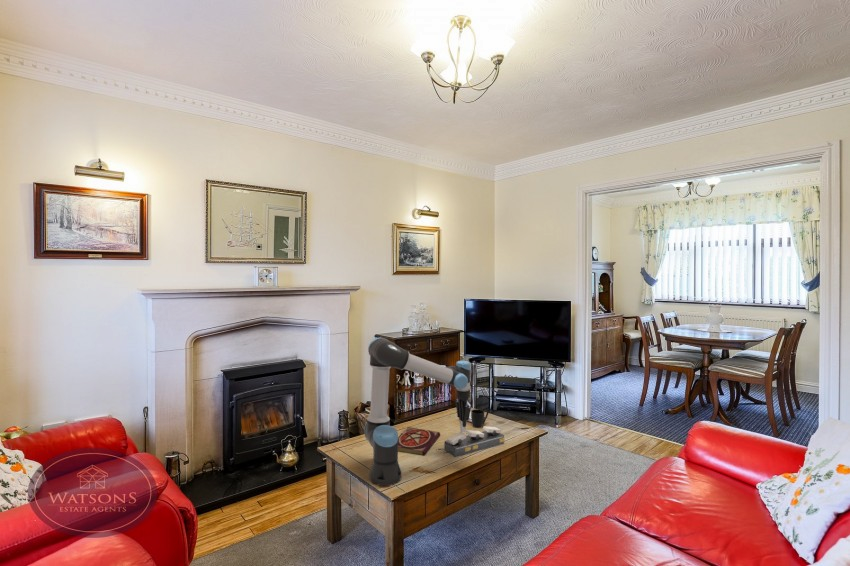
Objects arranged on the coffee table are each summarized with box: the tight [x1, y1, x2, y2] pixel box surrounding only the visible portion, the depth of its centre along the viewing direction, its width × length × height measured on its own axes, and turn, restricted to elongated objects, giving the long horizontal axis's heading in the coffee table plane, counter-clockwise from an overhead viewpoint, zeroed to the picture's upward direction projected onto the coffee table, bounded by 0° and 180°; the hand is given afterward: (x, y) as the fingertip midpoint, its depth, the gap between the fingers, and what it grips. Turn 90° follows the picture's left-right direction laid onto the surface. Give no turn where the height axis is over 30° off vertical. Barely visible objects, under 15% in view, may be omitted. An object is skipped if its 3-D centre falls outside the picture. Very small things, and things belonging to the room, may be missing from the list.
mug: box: [470, 408, 489, 429], centre depth 268 cm, size 8×12×10 cm
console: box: [443, 430, 505, 458], centre depth 237 cm, size 34×10×5 cm, turn 120°
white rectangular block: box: [465, 429, 484, 439], centre depth 237 cm, size 9×5×3 cm, turn 121°
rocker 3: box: [482, 425, 502, 435], centre depth 243 cm, size 9×5×3 cm, turn 121°
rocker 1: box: [447, 431, 467, 445], centre depth 231 cm, size 9×5×3 cm, turn 120°
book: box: [398, 426, 441, 457], centre depth 242 cm, size 28×21×5 cm
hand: (463, 431), depth 232 cm, fingers closed
